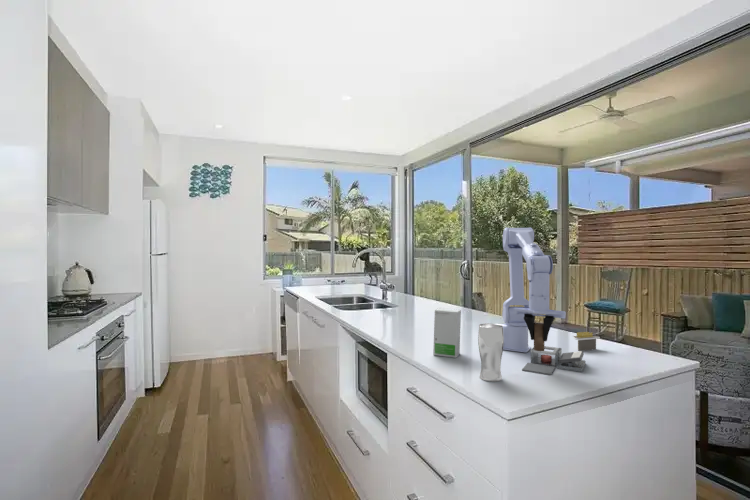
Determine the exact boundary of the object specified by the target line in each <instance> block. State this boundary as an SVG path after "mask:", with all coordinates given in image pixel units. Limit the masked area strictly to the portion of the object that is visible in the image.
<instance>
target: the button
mask: <svg viewBox="0 0 750 500" xmlns="http://www.w3.org/2000/svg"><path fill="white" fill-rule="evenodd" d="M540 357H541V361H543V362H552V359H553V355H549V354H540Z"/></svg>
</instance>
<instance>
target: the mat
mask: <svg viewBox="0 0 750 500" xmlns="http://www.w3.org/2000/svg"><path fill="white" fill-rule="evenodd" d="M555 369H556V366H550V365H543V364H536V363H531V362H527V363H526V364H525V366H524V367H523V368H522V369H521V370H522V372H523V371H524V372H528V373H529V372H530V373H535V374H542V375H549V376H552V374H553V373H554V371H555Z"/></svg>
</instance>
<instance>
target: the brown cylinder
mask: <svg viewBox="0 0 750 500" xmlns="http://www.w3.org/2000/svg"><path fill="white" fill-rule="evenodd" d="M543 338H544V322H535V323H534V340H533V347H534V350H536V351H545V349H544V346H545V341H544V339H543Z"/></svg>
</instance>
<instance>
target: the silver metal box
mask: <svg viewBox="0 0 750 500" xmlns="http://www.w3.org/2000/svg"><path fill="white" fill-rule="evenodd" d="M562 351H563V350H562V348H561V347H553V346H547V345H546V346H545V345H544V351H536V350H534V346H533V347H531V349H530V363H533V364H540V365H547V366H554V367H556V369H559V370H564V371H565V370H567V371H573V372H579V373H583V372H584V370H585V369H584V368H585V367H586V360H583V359H582V360H581V361H578V362H567V363H560V362H559V359H560V357H561V355H562V354H563V353H562ZM539 354H540V355H550V356H555V357H554V358H552V362H543V361H541V356H539Z"/></svg>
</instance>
